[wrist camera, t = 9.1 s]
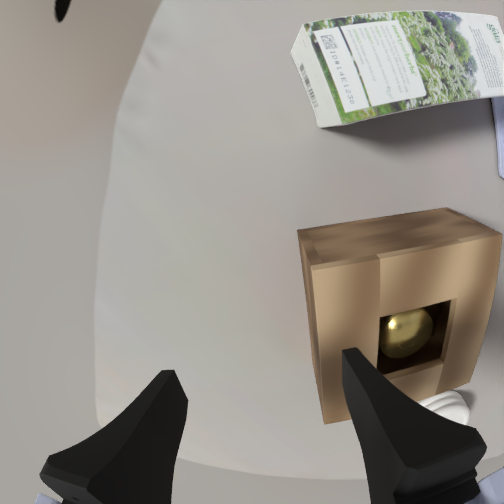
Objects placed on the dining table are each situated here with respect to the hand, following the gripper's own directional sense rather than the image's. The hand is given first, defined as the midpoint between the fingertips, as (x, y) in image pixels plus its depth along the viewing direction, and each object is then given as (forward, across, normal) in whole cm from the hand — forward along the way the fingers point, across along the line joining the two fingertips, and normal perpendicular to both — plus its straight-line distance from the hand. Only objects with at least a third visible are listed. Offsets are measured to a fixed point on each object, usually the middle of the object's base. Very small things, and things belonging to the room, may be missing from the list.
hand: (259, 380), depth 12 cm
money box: (+10, -9, +3) cm, 14 cm away
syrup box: (+7, -5, -12) cm, 15 cm away
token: (+10, -9, +3) cm, 14 cm away
